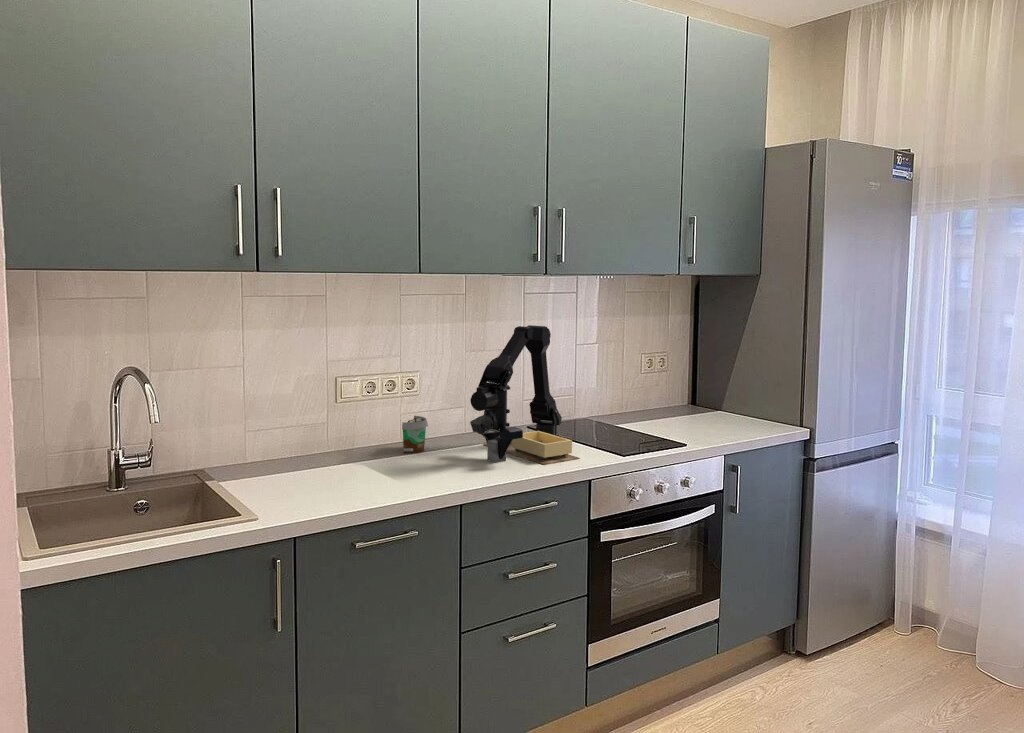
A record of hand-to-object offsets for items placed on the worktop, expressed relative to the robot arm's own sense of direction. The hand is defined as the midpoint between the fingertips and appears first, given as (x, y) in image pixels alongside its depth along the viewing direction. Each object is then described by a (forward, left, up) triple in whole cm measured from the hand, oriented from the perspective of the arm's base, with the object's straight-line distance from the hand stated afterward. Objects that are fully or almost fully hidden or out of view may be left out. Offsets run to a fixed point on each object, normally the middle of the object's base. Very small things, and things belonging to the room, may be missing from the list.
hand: (496, 457), depth 252 cm
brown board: (-16, -4, -1) cm, 16 cm away
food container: (+13, -24, -1) cm, 28 cm away
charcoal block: (0, 0, -1) cm, 1 cm away
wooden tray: (-16, +2, -1) cm, 16 cm away
